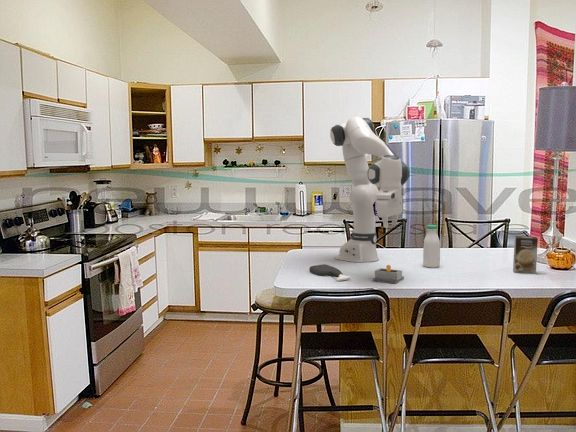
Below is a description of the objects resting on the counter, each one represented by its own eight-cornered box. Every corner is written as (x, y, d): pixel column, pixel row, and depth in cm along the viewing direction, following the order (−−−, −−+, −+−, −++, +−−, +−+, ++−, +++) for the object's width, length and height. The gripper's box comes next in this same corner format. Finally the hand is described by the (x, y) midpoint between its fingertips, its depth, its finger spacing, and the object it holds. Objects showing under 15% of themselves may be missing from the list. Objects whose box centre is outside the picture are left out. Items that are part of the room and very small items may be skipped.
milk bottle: (440, 268, 244) (441, 226, 242) (423, 267, 245) (424, 226, 243) (439, 265, 251) (439, 224, 249) (422, 264, 253) (423, 224, 251)
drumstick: (327, 269, 246) (356, 281, 224) (306, 272, 241) (334, 284, 219) (327, 263, 245) (356, 274, 224) (306, 266, 240) (334, 277, 219)
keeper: (372, 281, 220) (373, 265, 219) (382, 276, 228) (382, 261, 227) (395, 284, 214) (395, 268, 214) (403, 279, 223) (404, 263, 222)
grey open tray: (374, 277, 221) (374, 270, 221) (380, 274, 226) (380, 268, 226) (397, 280, 216) (397, 273, 215) (402, 277, 221) (402, 270, 221)
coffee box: (514, 273, 232) (515, 237, 230) (512, 270, 238) (514, 235, 236) (536, 274, 229) (537, 238, 227) (534, 271, 235) (536, 236, 233)
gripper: (392, 192, 228) (392, 223, 230) (374, 194, 211) (373, 228, 213) (406, 192, 225) (405, 224, 226) (388, 195, 208) (388, 229, 209)
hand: (390, 226), depth 219 cm, fingers open, 8 cm apart
